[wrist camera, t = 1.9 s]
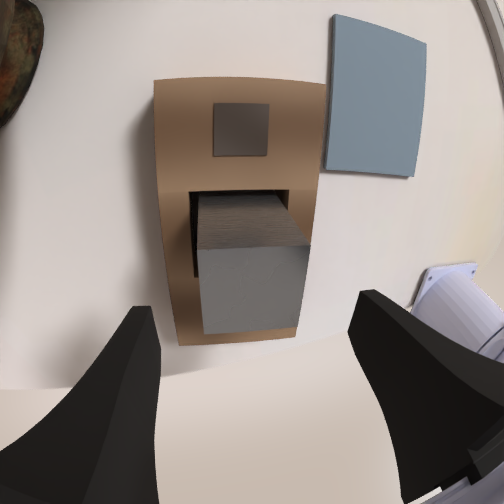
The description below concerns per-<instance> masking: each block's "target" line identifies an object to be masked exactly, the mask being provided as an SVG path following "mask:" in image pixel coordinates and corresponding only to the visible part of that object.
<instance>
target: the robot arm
mask: <svg viewBox="0 0 504 504" xmlns="http://www.w3.org/2000/svg"><path fill="white" fill-rule="evenodd" d="M477 267H478V265H477V264H476V263H475V262H473V263H465V264H457V265H448V266H440V267H431V268H429V269H428V270H427V271H426V274H425V276H424V279H423V282H422V284H421V287H420V290H419V292H418V295H417V297H416V300H415V302H414V305H413V307H412V309H411V312H410V313H409V312H408V311H406V310H405V309H403V308H402V307H401V306H399V305H398V304H396V303H395V302H393V301H392V300H390V299H389V298H387V297H386V296H384V295H383V294H381V293H380V292H378V291H376V290H374V289H372V290H364V291H360V293H359V296H358V300H357V303H356V306H355V310H354V313H353V316H352V319H351V322H350V326H349V329H348V335H349V338H350V341H351V344H352V347H353V350H354V352H355V355H356V357H357V359H358V361H359V363H360V365H361V367H362V369H363V371H364V373H365V375H366V377H367V379H368V381H369V383H370V385H371V387H372V389H373V391H374V393H375V395H376V397H377V399H378V402H379V404H380V406H381V409H382V411H383V414H384V417H385V420H386V423H387V426H388V429H389V433H390V436H391V440H392V444H393V447H394V452H395V457H396V461H397V467H398V472H399V480H400V489H401V497H402V500H403V502H404V504H408V503H410V502H412V501H414V500H416V499H418V498H420V497H422V496H424V495H425V494H427V493H429V492H431V491H433V490H434V489H436V488H438V487H441V489H442V492H440V493H439V494H437V495H435V496H434V497H432V498H430V499H428V500H427V501H425V502H423V503H421V504H504V311H503V310H502V309H500V307H499V306H498V305H497V304H496V303H495V302H494V301H493V300H492V299H491V298H490V297H489V296H488V295H487V294H486V293H485V292H484V291H483V290H482V289H481V288H480V287H479V286H478V285H477V284H476V283H475V282H474V281H473V280H472V279H473V277H474V274H475V272H476V269H477ZM160 376H161V347H160V343H159V339H158V335H157V331H156V327H155V323H154V318H153V314H152V309H151V306H133V307H132V308H131V309H130V310H129V312H128V313H127V315H126V316H125V318H124V319H123V321H122V323H121V324H120V326H119V327H118V328H117V330H116V331H115V333H114V334H113V336H112V337H111V339H110V340H109V342H108V343H107V344H106V346H105V347H104V349H103V350H102V352H101V353H100V354H99V356H98V357H97V358H96V360H95V361H94V362H93V364H92V365H91V366H90V368H89V369H88V370H87V371H86V373H85V374H84V375H83V377H82V378H81V379H80V380H79V381H78V383H77V384H76V385H75V386H74V387H73V388H72V389H71V391H70V392H69V393H68V394H67V395H66V396H65V397H64V398H63V399H62V400H61V401H60V403H58V404H57V405H56V406H55V407H54V408H53V409H52V410H51V411H50V412H49V413H48V414H47V415H46V416H45V417H44V418H43V419H42V420H41V421H40V422H38V423H37V424H36V425H35V426H34V427H33V428H31V429H30V430H29V431H28V432H26V433H25V434H24V435H23V436H21V437H20V438H19V439H17V440H16V441H15V442H13V443H12V444H10V445H9V446H7V447H6V448H4V449H3V450H1V451H0V504H159V499H158V491H157V481H156V470H155V450H154V434H155V421H156V411H157V402H158V393H159V385H160Z"/></svg>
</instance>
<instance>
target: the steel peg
mask: <svg viewBox="0 0 504 504" xmlns="http://www.w3.org/2000/svg"><path fill="white" fill-rule="evenodd" d="M310 247H311V245H310V243H309V242H308V240H307V239H306V237H305V236H304V234H303V233H302V231H301V230H300V228H299V227H298V225H297V224H296V222H295V221H294V220H293V218H292V217H291V215H290V214H289V212H288V211H287V209H286V208H285V207H284V205H283V204H282V202H281V201H280V199H279V198H278V196H277V195H276V194H275V192H274V191H273V189H263V190H214V191H199V209H198V235H197V257H198V271H199V284H200V296H201V307H202V318H203V328H204V334H219V333H235V332H248V331H260V330H272V329H282V328H291V327H298V321H299V316H300V310H301V304H302V298H303V292H304V286H305V280H306V274H307V267H308V261H309V254H310Z"/></svg>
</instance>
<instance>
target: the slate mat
mask: <svg viewBox="0 0 504 504" xmlns="http://www.w3.org/2000/svg"><path fill="white" fill-rule="evenodd" d="M425 81H426V43H423V42H421V41H419V40H416V39H414V38H411V37H409V36H406V35H404V34H401V33H398V32H396V31H393V30H390V29H387V28H384V27H381V26H378V25H375V24H372V23H368V22H365V21H361V20H358V19H354V18H350V17H346V16H342V15H338V14H334V15H333V41H332V68H331V87H330V102H329V116H328V129H327V140H326V151H325V161H324V168H325V169H326V170H343V171H358V172H370V173H382V174H392V175H401V176H410V177H414V173H415V167H416V161H417V155H418V149H419V142H420V134H421V126H422V117H423V107H424V96H425Z"/></svg>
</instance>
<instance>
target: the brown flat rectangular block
mask: <svg viewBox="0 0 504 504" xmlns="http://www.w3.org/2000/svg"><path fill="white" fill-rule="evenodd" d="M325 98H326V84H319V83H311V82H303V81H294V80H283V79H270V78H251V77H194V78H175V79H162V80H154V135H155V157H156V174H157V188H158V200H159V211H160V221H161V231H162V239H163V248H164V256H165V263H166V271H167V278H168V284H169V291H170V297H171V303H172V309H173V315H174V321H175V327H176V332H177V337H178V342H179V346H184V345H208V344H225V343H239V342H252V341H263V340H273V339H283V338H292V337H295V335H296V330H297V327H291V328H282V329H272V330H260V331H248V332H235V333H219V334H204V328H203V318H202V307H201V296H200V284H199V271H198V257H197V251H196V252H195V247H194V231H193V213H192V191H214V190H263V189H275V194H276V195H277V196H278V198H279V199H280V201H281V202H282V204H283V205H284V207H285V208H286V209H287V211H288V212H289V214H290V215H291V217H292V218H293V220H294V221H295V222H296V224H297V225H298V227H299V228H300V230H301V231H302V233H303V234H304V236H305V237H306V239H307V240H308V242H309V243H311V236H312V228H313V221H314V213H315V205H316V196H317V188H318V179H319V169H320V159H321V149H322V138H323V126H324V113H325Z"/></svg>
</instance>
